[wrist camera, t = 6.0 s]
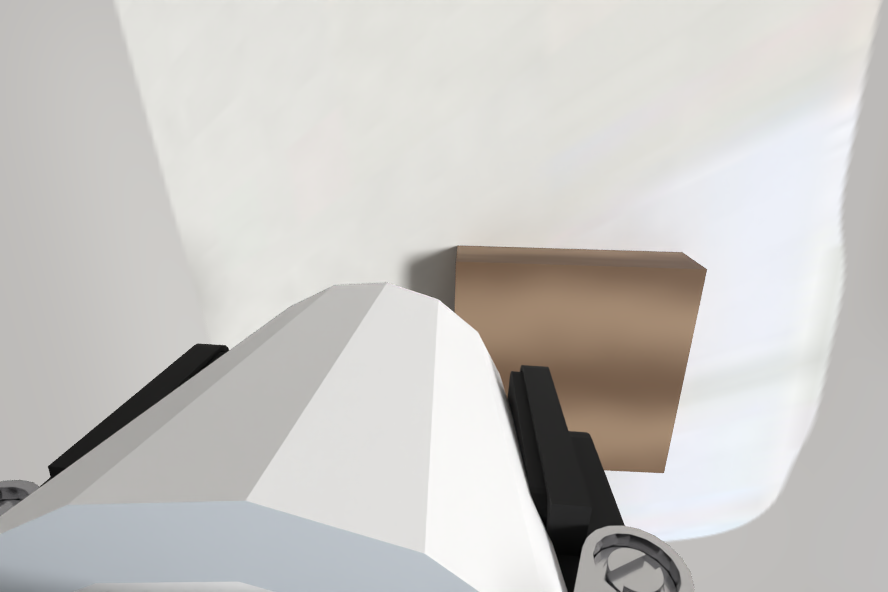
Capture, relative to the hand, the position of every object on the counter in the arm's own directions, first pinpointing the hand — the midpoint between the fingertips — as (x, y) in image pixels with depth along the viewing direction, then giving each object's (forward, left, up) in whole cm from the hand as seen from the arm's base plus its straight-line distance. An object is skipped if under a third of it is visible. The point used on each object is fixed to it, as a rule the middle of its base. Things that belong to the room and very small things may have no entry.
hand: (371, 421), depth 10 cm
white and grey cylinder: (0, 0, -1) cm, 1 cm away
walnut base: (+7, +7, -18) cm, 20 cm away
